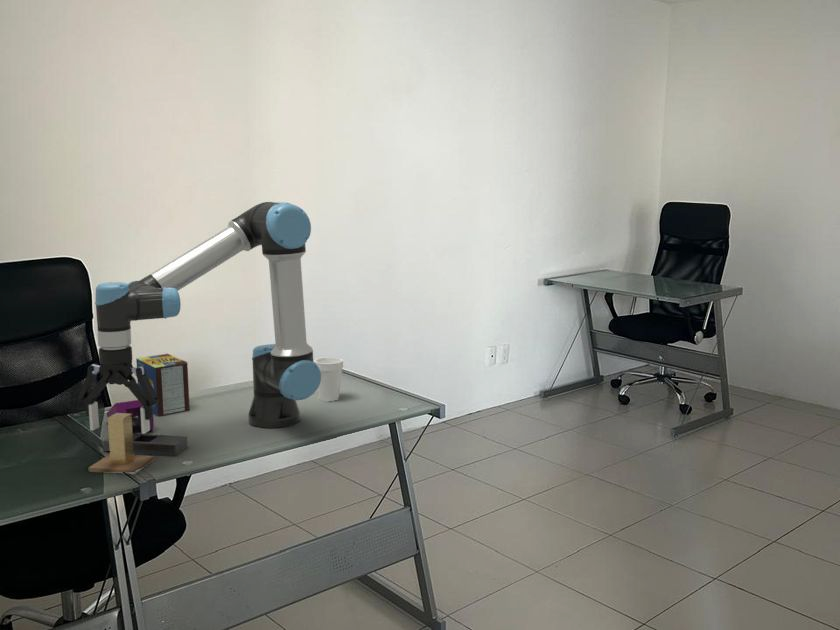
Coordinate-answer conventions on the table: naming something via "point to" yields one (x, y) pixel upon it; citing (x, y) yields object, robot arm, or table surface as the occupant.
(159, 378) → the protein box
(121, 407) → the mounting bracket
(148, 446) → the rail
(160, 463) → the table surface
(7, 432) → the table surface
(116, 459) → the square peg
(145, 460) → the walnut pad
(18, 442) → the table surface
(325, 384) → the foam cup
